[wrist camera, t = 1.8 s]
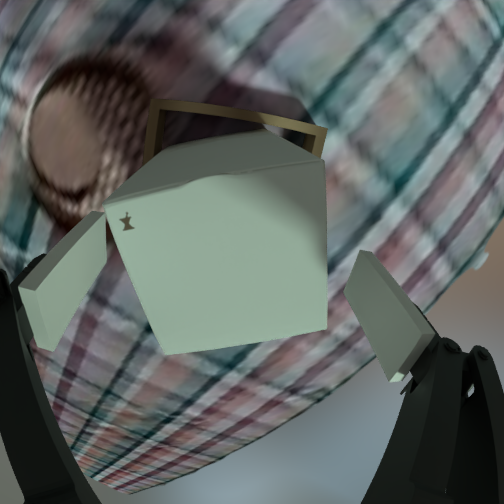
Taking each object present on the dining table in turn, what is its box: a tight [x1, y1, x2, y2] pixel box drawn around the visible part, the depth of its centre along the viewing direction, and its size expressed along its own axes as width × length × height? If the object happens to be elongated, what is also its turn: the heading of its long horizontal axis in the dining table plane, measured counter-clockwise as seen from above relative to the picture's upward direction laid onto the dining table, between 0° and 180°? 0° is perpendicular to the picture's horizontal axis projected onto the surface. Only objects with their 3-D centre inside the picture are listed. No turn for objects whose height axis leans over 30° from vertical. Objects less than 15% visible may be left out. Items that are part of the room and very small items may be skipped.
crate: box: [142, 98, 328, 167], centre depth 24 cm, size 14×14×3 cm
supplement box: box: [102, 129, 327, 355], centre depth 19 cm, size 9×9×15 cm
